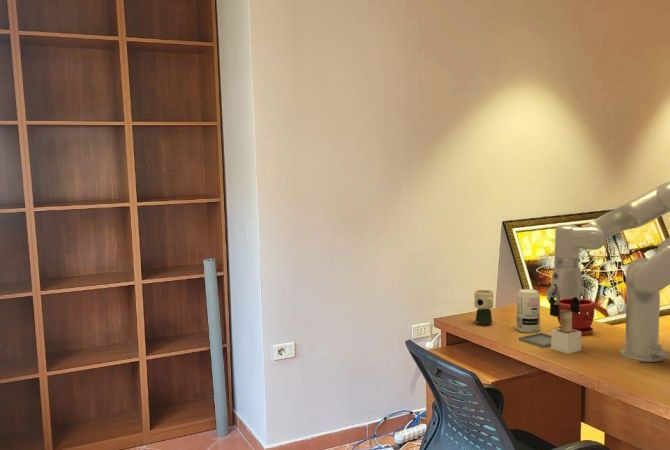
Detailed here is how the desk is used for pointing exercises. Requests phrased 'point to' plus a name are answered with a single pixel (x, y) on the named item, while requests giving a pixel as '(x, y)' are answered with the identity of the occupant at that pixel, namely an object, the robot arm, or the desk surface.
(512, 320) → the desk surface
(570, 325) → the dowel
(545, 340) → the tray
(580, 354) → the desk surface
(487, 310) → the character mug
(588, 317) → the plant pot
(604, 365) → the desk surface
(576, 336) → the white open square box
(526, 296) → the supplement can
